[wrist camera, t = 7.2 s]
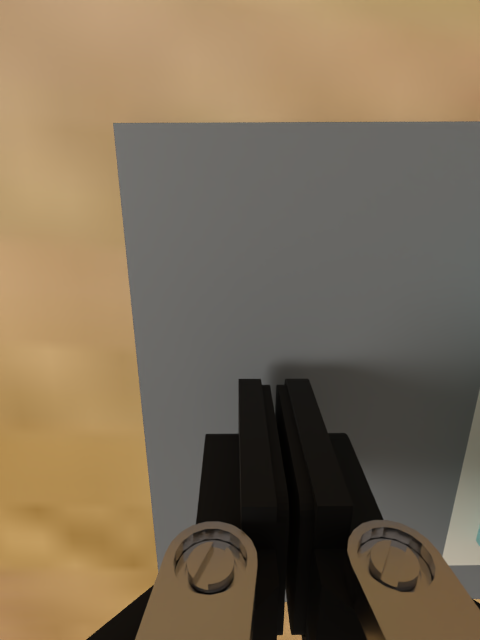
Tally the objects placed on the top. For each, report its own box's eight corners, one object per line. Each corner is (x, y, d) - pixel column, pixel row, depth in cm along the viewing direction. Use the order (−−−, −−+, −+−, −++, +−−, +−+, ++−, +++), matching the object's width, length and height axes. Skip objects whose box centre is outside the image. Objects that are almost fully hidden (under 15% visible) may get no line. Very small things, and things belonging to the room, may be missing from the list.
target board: (684, 567, 14) (716, 595, 13) (166, 574, 14) (161, 603, 13) (908, 123, 10) (981, 119, 9) (125, 127, 9) (112, 123, 8)
